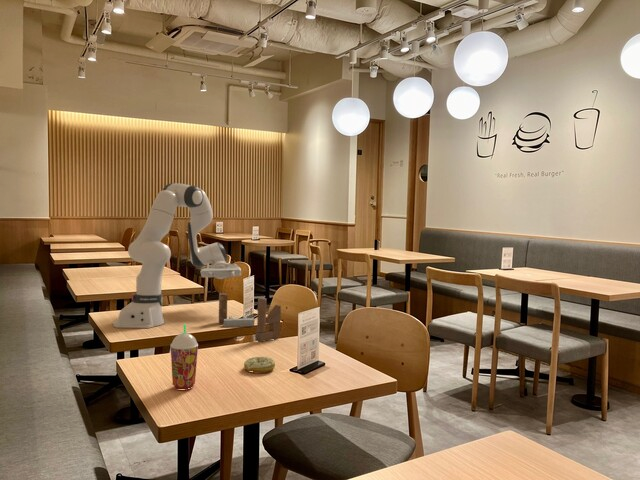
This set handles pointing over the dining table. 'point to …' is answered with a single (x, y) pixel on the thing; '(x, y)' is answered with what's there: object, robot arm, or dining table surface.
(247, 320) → the socket
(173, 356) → the smoothie
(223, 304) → the plank
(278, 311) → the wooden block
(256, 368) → the decorated donut
